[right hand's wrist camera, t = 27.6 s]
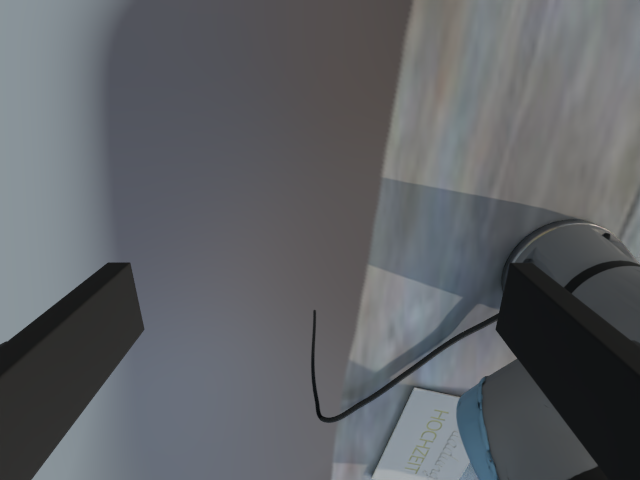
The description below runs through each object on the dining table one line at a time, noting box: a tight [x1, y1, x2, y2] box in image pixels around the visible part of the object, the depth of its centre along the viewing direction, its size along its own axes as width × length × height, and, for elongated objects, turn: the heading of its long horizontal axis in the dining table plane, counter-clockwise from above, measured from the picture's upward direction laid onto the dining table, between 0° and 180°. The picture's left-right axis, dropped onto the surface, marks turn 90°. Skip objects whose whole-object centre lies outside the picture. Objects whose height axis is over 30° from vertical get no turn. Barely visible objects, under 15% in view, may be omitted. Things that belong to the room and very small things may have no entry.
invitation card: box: [371, 387, 470, 480], centre depth 61 cm, size 21×1×15 cm
